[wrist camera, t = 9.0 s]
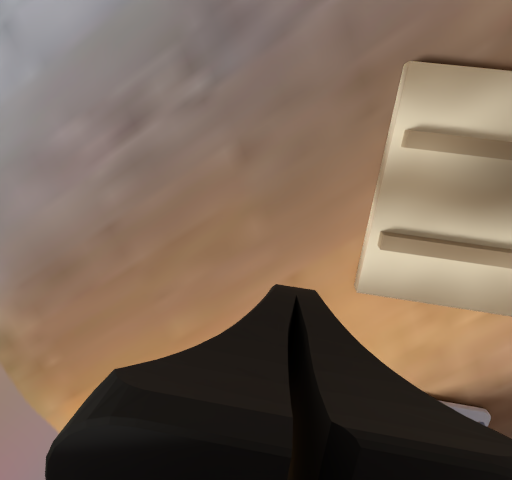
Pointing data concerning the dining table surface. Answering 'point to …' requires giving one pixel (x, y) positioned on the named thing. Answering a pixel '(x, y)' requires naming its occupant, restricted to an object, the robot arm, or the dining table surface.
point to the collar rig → (444, 192)
